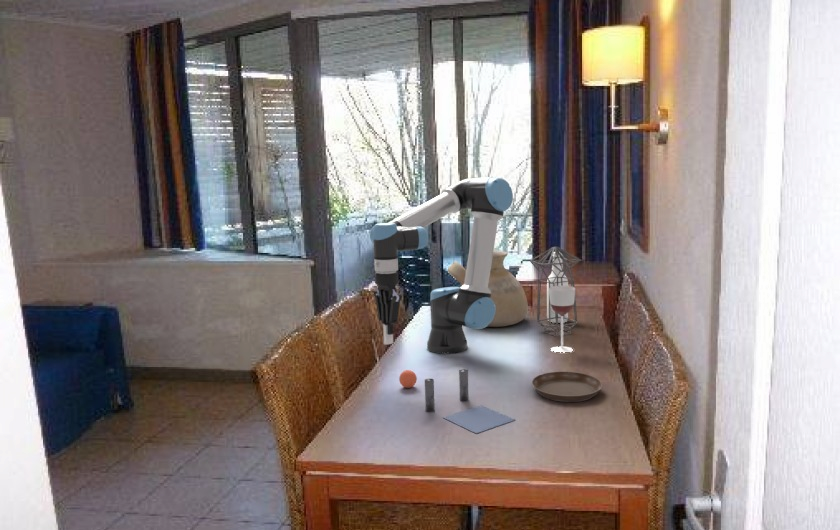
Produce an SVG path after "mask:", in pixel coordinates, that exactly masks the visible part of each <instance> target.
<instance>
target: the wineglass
mask: <svg viewBox="0 0 840 530" xmlns="http://www.w3.org/2000/svg"><path fill="white" fill-rule="evenodd" d="M549 295H550V304H551V307H552V309H553V310H554V311H555V312H556V313H558V314H559V315H561V331H560V335H561V336H560V346H559V347H558V346H553V347H550V349H551V350H550V351H551V352H553V351H554V352H553V353H556V352H560V353H559V354H566V353H565V352H570V353H573V352H574V351H573V349H574V348H573V347H571V346H564V335H563V334H564V331H563V329H564V326H563V324H564V323H563V316H564V315H565V314H567V313H568V314H569V312H571V311H572V309H574V307H573V305H574V300H576V288H575V286H574V287H572V286H570V285H568V286H552V287H550V288H549ZM572 348H573V349H572ZM572 351H573V352H572ZM561 352H563V353H561Z"/></svg>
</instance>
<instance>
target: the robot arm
mask: <svg viewBox="0 0 840 530" xmlns="http://www.w3.org/2000/svg"><path fill="white" fill-rule="evenodd" d="M513 200H514V194H513V189H512V187H511V186H510V183H509V182H508V181H507V180H506V179H503V178H501V177H496V176H494V177H493V176H491V177H490V176H489V177H487V176H486V177H483V176H482V177H468V178H464V179H461V180H460V181H457V182H455V183H453V184H452V185H449V186H448V187H446V188H444V189H442V191H441V193H440V194H439V195H437V196H435V197H433V198H432V199H429V200H428V201H426V202H424V203H422V204H420V205H418V206H417V207H414V208H413V209H411V210H409V211H407V212H405V213H404V214H402V215H400V216H398V217H397V218H396V217H395V218H394V219H392V220H390V221H388V222H379V223H376V224H374V225H373V226H372V227H371V229H370V231H369V238H370V242H372V244H373V259H374V260H373V261H374V263H373V265H374V271H375V273H374V284H375V285H377V290H374V291H373V292H372V293H373V296H374V298H375V305H376V311H377V318H378V320H379V321H380V322H381V324H382V331H383V332H382V333H383V345H391V344H394V324H398V318H399V311H400V310H399V309H400V302H401V301H402V296H401V295H400V294H399V295H398V293H397V287H396V285H397V284H398V283H399V273H398V271H399V257H398V254H399V252H405V251H407V252H409V251H414V250H415V251H418V250H421V249H424V248H426V246H427V245H428V243H429V234H428V231H427V230H426V227H427V226H429V225H431V224H432V223H435V222H436V221H438V220H440V219H442V218H443V217H445V216H447V215H449V214H450V213H451V214H456V213H459V212H461V211H464V210H470V214H471V215H472V216H473V225H472V231H471V236H470V244H469V251H468V256H467V262H466V267H465V269H466V275H465V281H464V284H463V285H461V286H447V287H440V288H439V287H438V288H434V289H433V290H431V292H430V295H429V296H430V299H429V302H430V303H429V304H430V305H429V306H430V325H431V326H430V327H431V328H430V332H429V336H428V340H427V342H426V343H427V344H426V347H427V348H426V349H427V350H428V351H429V352H432V353H436V354H437V353H438V354H456V353H461V352H464V351H465V350H467V349H468V341H467V340H468V339H467V338H466V334H465V332H464V328H463V327H465V328H466V327H467V328H469V329H472V330H473V329H476V330H482V329H484V328H486V327H489V326H488V324H490V323H491V321H492V320H493V318H494V315H495V311H496V307H495V305H494V301H493V300H492V299H491V292H490V290H489V289H488V283H489V277H490V270H491V264H492V257H493V251H495V250H494V249H495V243H496V237H497V229H498V223H499V221H500V220H502V219H503V218H504V213H505V212H506V211H508V210H509V209H510V207H511V206H512V204H513Z"/></svg>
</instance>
